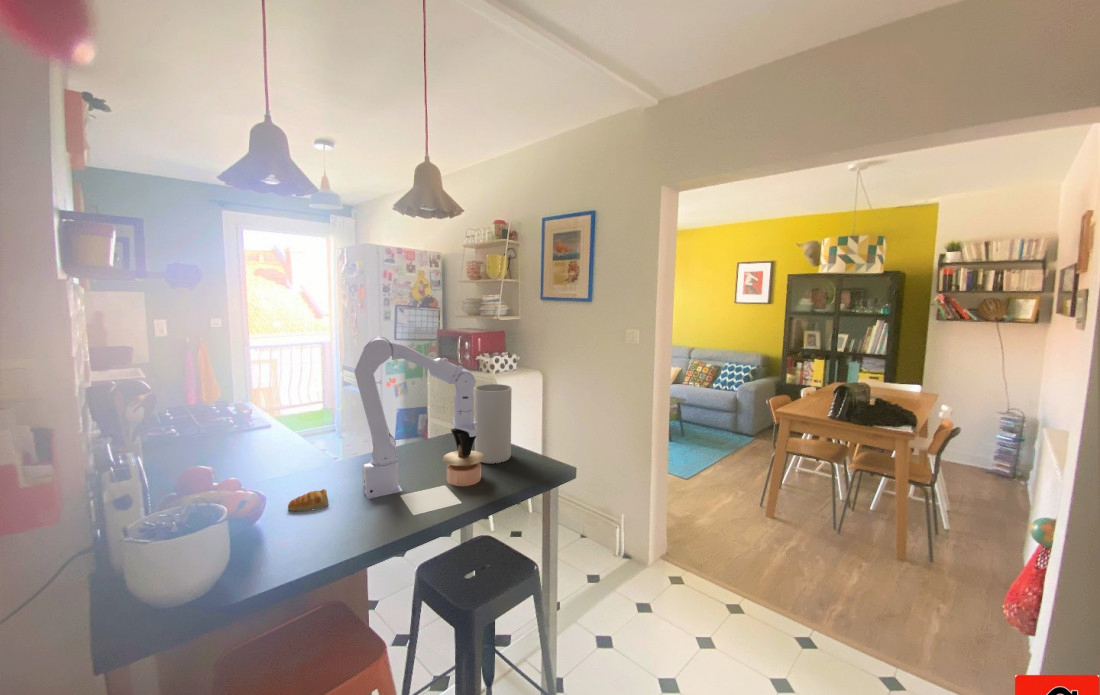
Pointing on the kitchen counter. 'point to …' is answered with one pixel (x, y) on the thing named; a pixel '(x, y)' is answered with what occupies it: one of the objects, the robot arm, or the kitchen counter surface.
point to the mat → (430, 500)
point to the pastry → (309, 501)
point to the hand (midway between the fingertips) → (464, 453)
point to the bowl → (463, 474)
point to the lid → (462, 458)
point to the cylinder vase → (493, 422)
